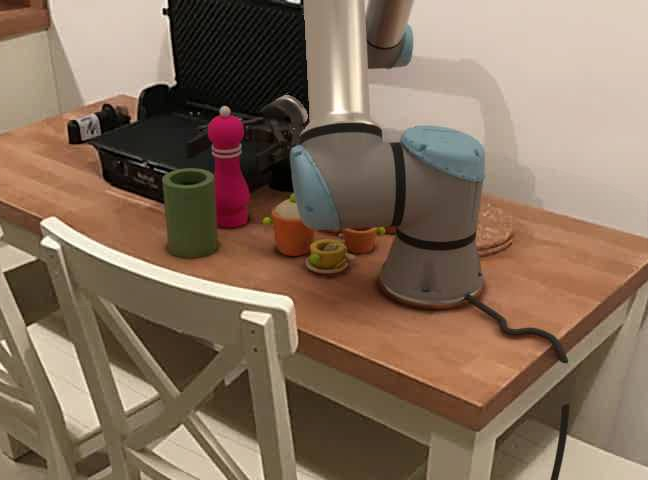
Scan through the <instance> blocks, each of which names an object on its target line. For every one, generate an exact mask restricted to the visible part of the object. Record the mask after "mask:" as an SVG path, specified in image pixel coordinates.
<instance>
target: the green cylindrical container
mask: <svg viewBox="0 0 648 480" xmlns="http://www.w3.org/2000/svg"><path fill="white" fill-rule="evenodd" d="M161 180H162V191H163V201H164V203H163V204H164V213H165V224H166V225H165V226H166V237H167V247H168V248H167V249H168V251H169V252H170V253H171V254H172V255H174V256H178V257H179V258H185V259H187V258H189V259H192V258H201V257H205V256H208V255H211V254H212V253H214V252H215V251H216V250H218V246H219V245H218V244H219V242H218V241H219V240H218V239H219V238H218V226H217V219H216V200H215V182H214V173H212V172H211V171H210V170H207V169H203V168H194V167H189V168H188V167H187V168H180V169H174V170H171V171H170V172H167V173H165V175H163V176H162V178H161Z"/></svg>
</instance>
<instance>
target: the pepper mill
mask: <svg viewBox="0 0 648 480" xmlns="http://www.w3.org/2000/svg"><path fill="white" fill-rule="evenodd" d="M208 124H209V126H208V137H209V139H210V141H211V142H212V143H213V144H211V145H212V147H211V154H212V156H213V157H214V165H215V166H214V173H213V174H214V182H215V200H216V219H217V227H219V228H226V229H232V228H238V227H241V226H243V225H245V224H246V223H247V222H248V220H249V216H248V214H249V213H248V209H247V208H246V207H247V206H248V204H249V203H250V201H251V200H250V199H251V195H250V190H249V187H248V184H247V181H246V180H245V176H244V175H243V173H242V169H241V164H240V155H242V152H243V151H242V147H243V146H242V144H241V142H242V138H243V136H244V127H243V124H242V122H241V121H240V120H239V119H238V118H237V116H235V115H233V114H231V109H230V107H228V106H227V105H223V106H221V107H220V109H219V115H217V116H215V117H213V119H211V121H210V122H209V123H208Z"/></svg>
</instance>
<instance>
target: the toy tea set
mask: <svg viewBox="0 0 648 480" xmlns="http://www.w3.org/2000/svg"><path fill="white" fill-rule="evenodd" d="M262 225H263V226H264V227H270V226H272V227H273V231H274V239H275V245H276V249H277V251H278V252H279V253H280V254H283V255H285V256H289V257H290V256H292V257H296V256H297V257H298V256H303V255H304V256H305V255H306V254H308V253H310V255H308V257H306V259H305V266H306V268H307V269H309V270H310V271H312V272H315V273H318V274H327V275H328V274H336V273H339V272H342V271H343V270H345V269H346V268H347V267H348V265H349V263H355V262H356V259H357V258H356V256H355V255H354V254H366V253H369V252H370V251H372V250H373V248H374V245H375V241H376V237H377V236H378V237H383V236H384V235H385V234H386V233H387V234H395V231H396V227H373V228H350V229H339V230H338V231H333V230H327V232H328V231H329V232H331V233H332V232H333V233H338V236H337V237H338V239H339V240H337V239H332V238H331V239H330V238H323V239H318V240H315V241H314V238H315V233H316V229H310V228H308V227H307V226H305V225H304V223H303V222H302V220H301V218H300V215H299V212H298V208H297V204H296V199H295V194H294V192H293V193H292V194H291V195H290V196H289V199H286V200H283V201H282V202H281V203H279V204H278V205H276V206H274V208H273V209H272V210H271V217H269V216H266V217H264V218H263V220H262ZM340 240H343V241H344V242H342V241H340ZM347 251H349V252H351V253H348V252H347ZM352 253H353V254H352Z"/></svg>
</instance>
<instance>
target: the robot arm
mask: <svg viewBox="0 0 648 480" xmlns="http://www.w3.org/2000/svg"><path fill="white" fill-rule="evenodd" d="M365 2H366V1H365V0H303V15H304V20H305V40H306V60H307V80H308V101H309V121H310V122H309V124H308V125H307V126H306V127H305V129H304V127H303V126H301V124H303V123H305V122H306V121H307V119H308V114H307V111H306V109H305V108H304V106H303V104H301V102H300V101H299V100H297V99H296V98H295V97H293V96H290V95H286V94H284V95H282V96H280V97H278V98H277V99H275V100H274V101H272V102H270V103H269V104H267V105H264V106H263V107H262V108H261V110H260V111H259V113H258V115H257V116H256V117H254V118H253V119H248V120H247V119H246V120H244V115H236V117H237V118H238V119H239V120H240V121H241V122H242V124H243V127H244V136H243V138H242V140H241V142H243V143H248V142H255V141H256V142H257V143H258V142H259V143H260V142H263V143H268V144H271V145H270V146H269V147H267V148H265V149H263V150H261V152H258V153H257V154H255V155H254V167H255V168H254V169H255V173H258V174H259V173H261V172H263V171H264V170H266V169H267V168H269V167H271V166H272V165H273V164H276V163H279V162H280V161H281V160H288V158H289V163H290V164H289V165H290V171H291V181H292V188H293V193H294V194H295V199H296V204H297V208H298V212H299V215H300V218H301V220H302V222H303V223H304V225H305V226H307V227H308V228H310V229H315V230H325V231H328V230H333V231H338V230H339V229H350V228H373V227H396V231H395V233H394V237H393V240H392V243H391V246H390V248H389V251H388V254H387V256H386V259H385V260H384V262H383V264H382V266H381V269H380V272H379V273H380V274H379V287H380V289H381V291H382V292H383V294H385V295H386V296H387V297H388V298H390V299H391V300H393V301H395V302H397V303H400V304H402V305H404V306H408V307H412V308H417V309H424V310H449V309H455V308H458V307H459V308H460V307H462V306H463V307H464V306H466V305H469V304H471V305H472V306H474V307H475V308H477V309H478V310H480V311H482V312H483V313H484V314H486V315H487V316H489V317H490V318H492V319H494V320H495V321H496V322H497V323H498V324H499V330H500V332H501V333H502V334H504V335H507V336H510V337H520V336H529V335H530V336H535V337H539V338H542V339H544V340H546V341H548V342H549V343H550V344H551V345H552V347H553V349H554V351H555V353H556V355H557V357H558V359H559V362H560V363H562V364H568V363H569V359H568V356H567V353H566V351H565V349H564V347H563V346H562V344H561V342H560V340H559V339H558V338H557V336H555V335H553V334H552V333H550V332H548V331H546V330H544V329H540V328H536V327H529V326H528V327H521V328H511V327H508V322H507V320H506V318H505V317H503V316H502V315H501V314H500V313H498V312H497V311H496V310H494V309H492V308H491V307H489V306H488V305H486V304H485V303H484V302H482V301H481V300H480V299H478V298H479V297H480V295H481V293H482V290H483V285H484V274H483V273H484V272H483V269H482V265H481V260H480V259H481V258H480V255H479V250H478V246H477V240H476V239H477V232H478V231H477V230H478V224H479V216H480V209H481V200H482V195H483V194H482V193H483V184H484V181H485V179H486V172H485V171H486V169H485V168H486V150H485V148H484V146H483V144H482V143H481V142H480V141H479V140H478V139H477V138H475V137H474V136H472V135H470V134H468V133H466V132H463V131H461V130H458V129H454V128H450V127H445V126H440V125H439V126H438V125H427V124H426V125H425V124H424V125H422V124H421V125H414V126H413V127H408V128H406V129H405V130H403V132H402V134H401V136H400V141H395V142H394V141H392V142H385V141H384V140H383V128H382V126H381V125H380V124H378V123H377V122H376V121H375V120H374V119H373V118H372V117H371V104H370V102H371V101H370V81H369V70H373V69H374V70H376V69H377V70H378V69H385V70H392V69H393V68H394V69H395V68H404V67H407V66H408V65H409V64H410V63H411V61H412V58H413V51H414V33H413V28H412V26H411V25H410V24H408V23H409V19H410V16H411V13H412V9H413V6H414V3H415V0H368V1H367V6H366V3H365ZM209 124H210V123H206V124H203V125H199V126H197V127H196V134H197V135H196V136H195V137H193V138H192V139H190V140H188V141H187V142H185V147H186V159H190V160H191V159H193V158H195V157H197V156H198V155H200V154H202V153H204V152H205V151H207V150H210V148H212V145H213V143H212V142H211V141H210V139H209V137H208V126H209ZM247 133H248V136H247ZM291 139H292V140H291ZM290 140H291V141H290ZM289 141H290V142H291V145H288V143H290V142H289ZM287 142H288V143H287ZM570 404H571V403H569V402H568V403H566V404H563V405H561V410H560V411H561V412H560V425H559V433H558V441H557V447H556V453H555V458H554V462H553V467H552V471H551V476H550V480H559V479H560V473H561V469H562V464H563V459H564V455H565V449H566V444H567V437H568V429H569V419H570Z"/></svg>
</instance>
